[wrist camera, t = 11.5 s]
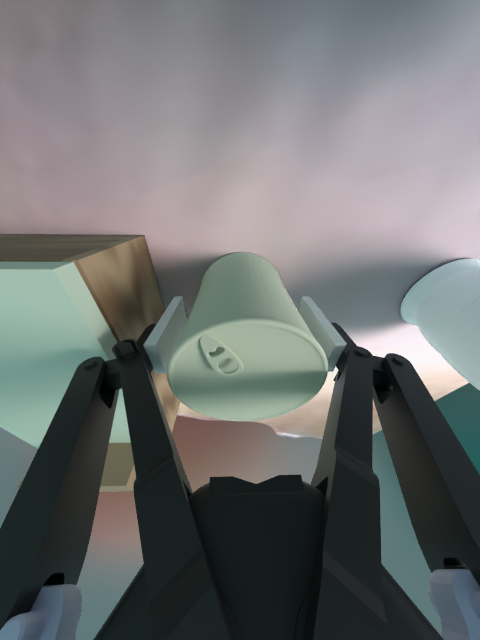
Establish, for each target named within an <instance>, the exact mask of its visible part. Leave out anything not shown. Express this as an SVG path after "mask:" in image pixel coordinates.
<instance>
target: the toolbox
mask: <svg viewBox="0 0 480 640" xmlns="http://www.w3.org/2000/svg"><path fill="white" fill-rule="evenodd" d="M0 262H74V264H75V266H76V267H77V269H78V271H79V273H80V275H81V277H82V278H83V280H84V282H85V284H86V286H87V288H88V290H89V291H90V293H91V295H92V297H93V299H94V301H95V302H96V304H97V306H98V308H99V310H100V312H101V313H102V315H103V317H104V319H105V321H106V323H107V324H108V326H109V328H110V330H111V332H112V334H113V336H114V337H115V339H116V341H117V343H118V342H120V341H122V340H125V339H134V340H135V341H137V340H138V338H139V337H140V336H141V334H142V333H143V331H144V330H145V328H146V327H148V326H149V325H151V324H157V323H158V321H159V320H160V318H161V317H162V315H163V314H164V312H165V307H164V303H163V300H162V296H161V293H160V289H159V286H158V282H157V279H156V275H155V271H154V268H153V264H152V261H151V257H150V254H149V250H148V247H147V243H146V240H145V236H144V235H51V234H0ZM151 375H152V378H153V381H154V384H155V386H156V389H157V392H158V395H159V398H160V401H161V404H162V407H163V410H164V413H165V416H166V419H167V422H168V425H169V427H170V430H171V433H172V430H173V427H174V423H175V419H176V416H177V412H178V409H179V405H180V400H179V399H178V398H177V397H176V396H175V395H174V393H173V392H172V390H171V388H170V386H169V384H168V380H167V372H166V373H155V371H154V369H153V370H152V372H151Z"/></svg>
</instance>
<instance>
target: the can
mask: <svg viewBox="0 0 480 640" xmlns="http://www.w3.org/2000/svg"><path fill="white" fill-rule="evenodd" d="M327 373H328V362H327V357H326V355H325V352H324V350H323V348H322V347H321V345H320V344H319V343H318V342H317V341H316V339H315V338H314V336H313V335H312V333H311V332H310V330H309V328H308V327H307V325H306V323H305V322H304V320H303V318H302V317H301V315H300V313H299V312H298V310H297V308H296V306H295V305H294V303H293V301H292V299H291V298H290V296H289V294H288V292H287V291H286V289H285V287H284V285H283V283H282V280H281V277H280V275H279V273H278V271H277V270H276V268H275V267H274V266H273V265H272V264H271V263H270V262H269V261H268V260H266V259H265V258H263V257H261V256H259V255H256V254H252V253H245V252H239V253H232V254H229V255H226V256H223V257H221V258H219V259H218V260H216V261H215V262H214V263H213V264H212V265H211V266H210V267H209V268H208V269H207V271H206V272H205V274H204V276H203V278H202V281H201V285H200V290H199V293H198V296H197V298H196V301H195V303H194V306H193V308H192V311H191V313H190V315H189V318H188V320H187V322H186V325H185V327H184V330H183V332H182V334H181V337H180V339H179V341H178V343H177V346H176V348H175V349H174V351H173V352H172V354H171V356H170V359H169V361H168V365H167V380H168V384H169V386H170V388H171V390H172V392H173V393H174V395H175V396H176V397H177V398H178V399H179V400H180V401H181V402H182V403H183V404H185V405H186V406H187V407H189V408H191V409H192V410H194V411H196V412H198V413H201V414H203V415H206V416H209V417H213V418H217V419H222V420H229V421H257V420H264V419H270V418H274V417H278V416H281V415H284V414H287V413H289V412H291V411H294V410H296V409H297V408H299V407H301V406H303V405H304V404H306V403H307V402H308V401H310V400H311V399H312V398H313V397H314V396H315V395H316V394H317V393H318V392H319V391H320V389H321V388H322V386H323V384H324V382H325V380H326V377H327Z"/></svg>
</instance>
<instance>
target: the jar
mask: <svg viewBox="0 0 480 640" xmlns="http://www.w3.org/2000/svg"><path fill="white" fill-rule="evenodd" d="M400 312H401V316H402V318H403V319H404V320H405V321H406V322H408V323H410V324H412V325H416V326H418V327H419V329H420V331H421V333H422V335H423V336H424V338H425V339H426V340H427V341H428V342H429V344H430V345H431V346H432V347H433V348H434V349H435V350H436V351H438V352H439V353H440V354H441V355H442V357H443V358H444V359H445V360H446V361H447V362H448V363H449V364H450V365H451V366H452V367H453V368H454V369H455V370H456V371H457V372H458V373H459V374H460V375H461V376H463V377H464V378H465V379H466V380H467V381H468V382H470V383H471V384H472V385H473V386H475V387H476V388H477V389H479V390H480V259H461V260H457V261H453V262H450V263H447V264H445V265H443V266H441V267H439V268H437V269H435V270H433V271H431V272H430V273H428V274H427V275H425V276H424V277H423V278H421V279H420V280H419V281H418V282H417V283H416V284H415V285H414V286H413V287H412V288H411V289H410V290H409V291H408V293H407V294H406V296H405V297H404V299H403V301H402V304H401V310H400Z"/></svg>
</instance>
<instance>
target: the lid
mask: <svg viewBox="0 0 480 640" xmlns="http://www.w3.org/2000/svg"><path fill="white" fill-rule="evenodd" d="M116 343H117V341H116V339H115V337H114V336H113V334H112V332H111V330H110V328H109V326H108V324H107V323H106V321H105V319H104V317H103V315H102V313H101V312H100V310H99V308H98V306H97V304H96V302H95V301H94V299H93V297H92V295H91V293H90V291H89V290H88V288H87V286H86V284H85V282H84V280H83V278H82V277H81V275H80V273H79V271H78V269H77V267H76V266H75V264H74V262H0V427H1V428H3V429H5V430H7V431H8V432H10V433H12V434H14V435H15V436H17V437H19V438H20V439H22V440H24V441H26V442H27V443H29V444H31V445H33V446H34V447H36V448H38V449H39V446H40V444H41V442H42V440H43V438H44V436H45V434H46V432H47V430H48V428H49V425H50V423H51V421H52V419H53V417H54V415H55V413H56V411H57V409H58V407H59V405H60V402H61V400H62V398H63V396H64V394H65V392H66V390H67V388H68V386H69V384H70V381H71V379H72V377H73V375H74V373H75V371H76V369H77V367H78V366H79V364H81V363H82V362H83V361H85V360H87V359H89V358H92V357H102V358H103V359H104V361H107V360H112V359H116V357H115V355H114V353H113V352H112V347H113V346H114V345H115V344H116ZM135 479H136V472H135V466H134V460H133V454H132V447H131V441H130V435H129V429H128V423H127V416H126V410H125V404H124V398H123V392H122V389H120V390H119V395H118V400H117V405H116V410H115V415H114V420H113V425H112V430H111V435H110V440H109V445H108V450H107V455H106V460H105V465H104V470H103V475H102V480H101V485H100V490H99V492H110V491H134V489H133V487H134V481H135ZM23 480H24V479H23ZM23 480H22V482H23ZM22 482H21V483H20V484H19V485H18V487H17V488H16V489H19V488H20V486H21V484H22Z"/></svg>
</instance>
